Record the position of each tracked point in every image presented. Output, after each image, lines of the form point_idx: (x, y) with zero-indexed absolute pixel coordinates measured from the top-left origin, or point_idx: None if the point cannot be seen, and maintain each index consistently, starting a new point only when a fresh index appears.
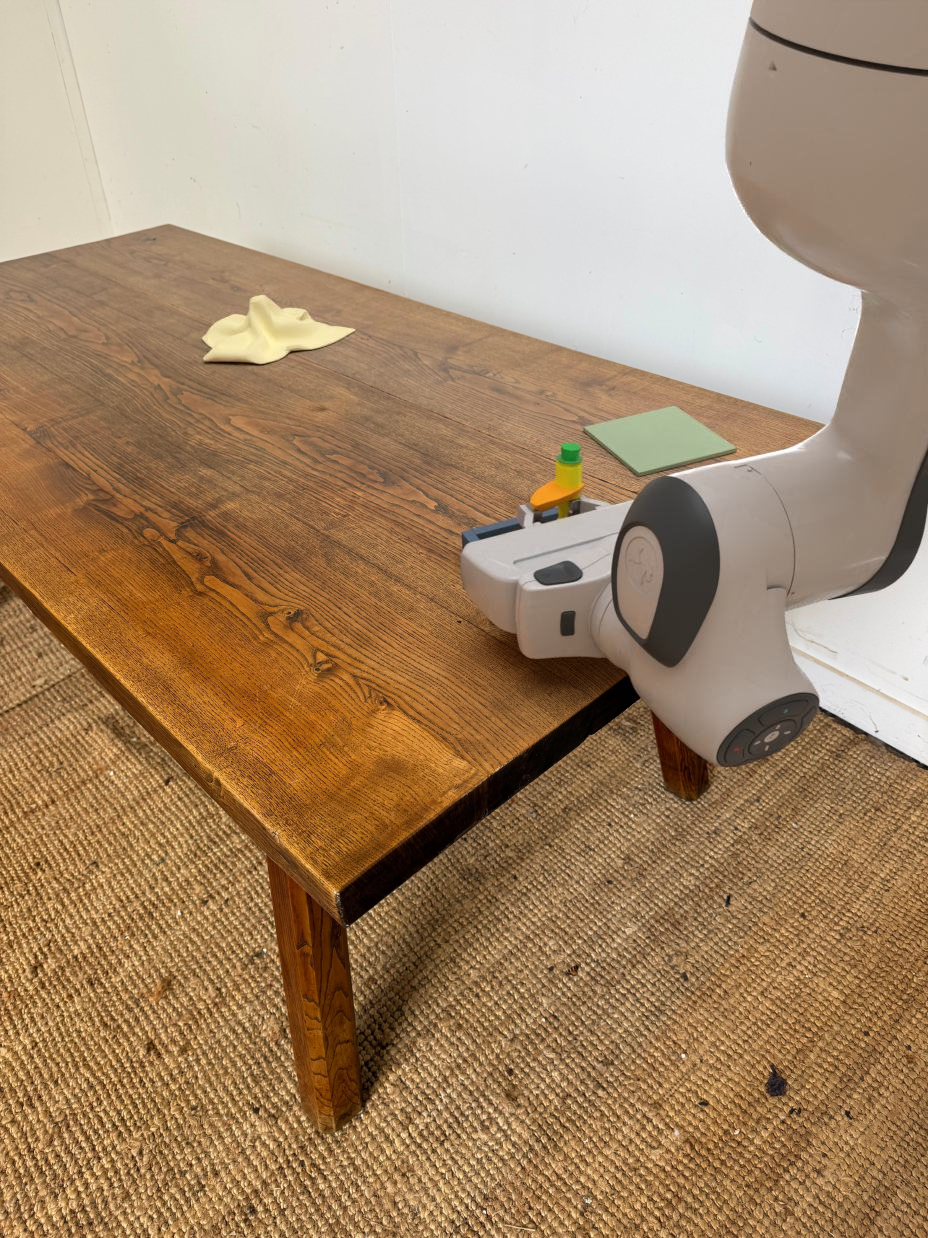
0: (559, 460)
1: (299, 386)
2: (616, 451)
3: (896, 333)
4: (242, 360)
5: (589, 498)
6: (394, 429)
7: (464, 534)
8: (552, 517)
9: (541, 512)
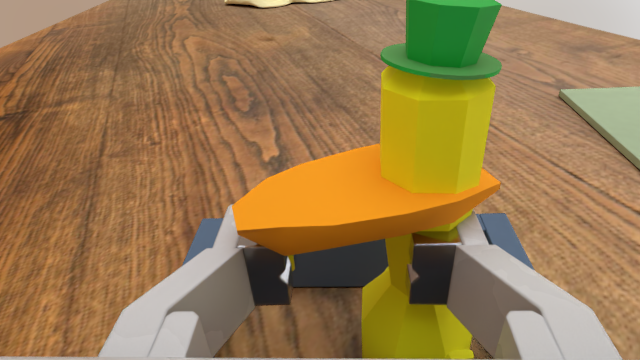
0: (385, 57)
1: (272, 23)
2: (612, 131)
3: None
4: (248, 3)
5: (499, 248)
6: (316, 62)
7: (199, 227)
8: None
9: (278, 255)
